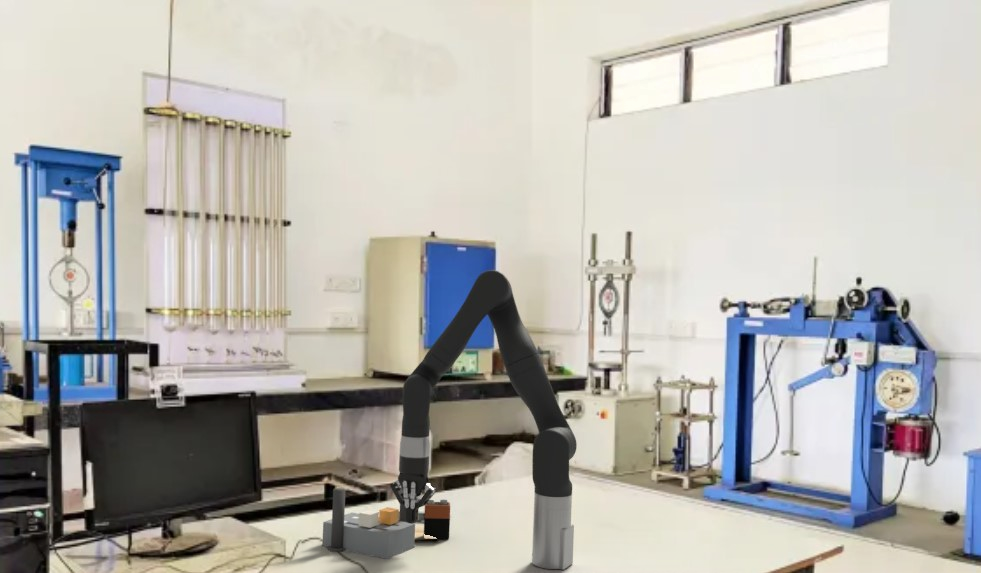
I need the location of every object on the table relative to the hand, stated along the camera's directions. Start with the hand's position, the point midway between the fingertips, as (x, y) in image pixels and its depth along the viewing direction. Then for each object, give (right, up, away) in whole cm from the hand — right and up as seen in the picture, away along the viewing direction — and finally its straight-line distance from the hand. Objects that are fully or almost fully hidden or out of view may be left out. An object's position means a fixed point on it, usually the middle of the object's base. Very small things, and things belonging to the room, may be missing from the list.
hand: (411, 522), depth 210 cm
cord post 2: (-3, -7, +9) cm, 12 cm away
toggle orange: (-6, -1, +3) cm, 7 cm away
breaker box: (-11, -7, +3) cm, 14 cm away
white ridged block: (-11, -1, 0) cm, 11 cm away
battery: (+5, -8, +14) cm, 17 cm away
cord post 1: (-19, -7, 0) cm, 20 cm away
